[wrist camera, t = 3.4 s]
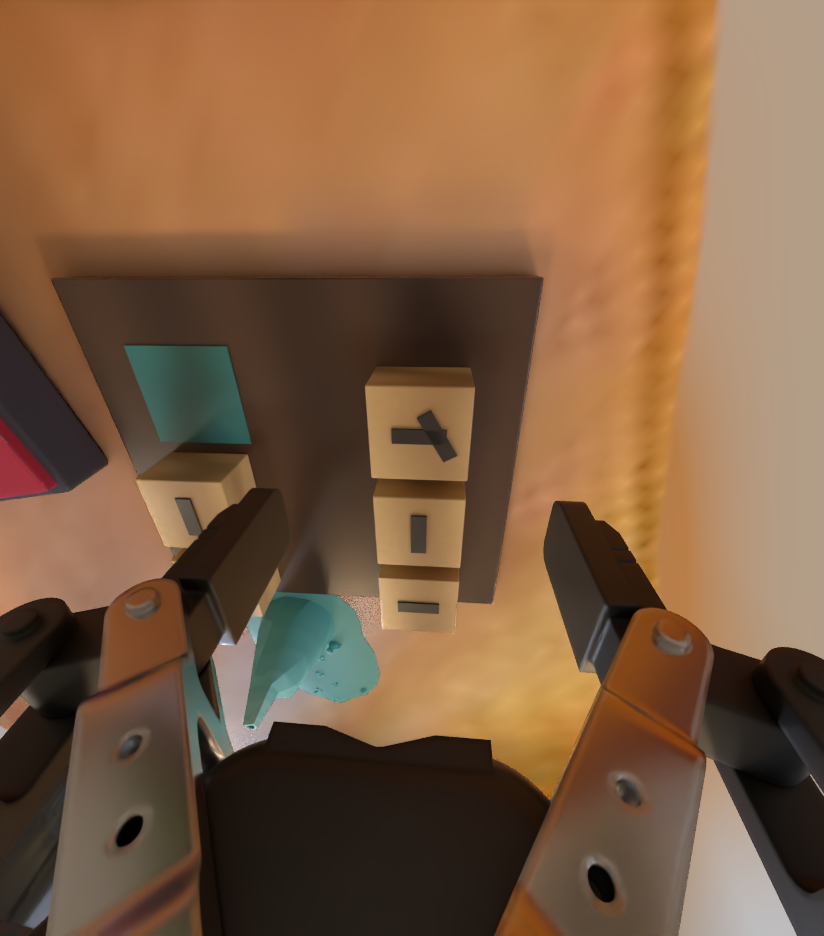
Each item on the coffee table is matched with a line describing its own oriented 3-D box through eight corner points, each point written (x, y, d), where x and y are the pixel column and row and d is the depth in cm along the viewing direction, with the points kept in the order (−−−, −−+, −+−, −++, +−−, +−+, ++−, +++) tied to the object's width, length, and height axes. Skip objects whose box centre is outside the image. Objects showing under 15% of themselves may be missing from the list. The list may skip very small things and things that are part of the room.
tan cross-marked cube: (380, 449, 20) (370, 479, 17) (376, 365, 18) (363, 385, 15) (464, 451, 20) (467, 483, 17) (470, 367, 17) (475, 387, 15)
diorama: (290, 708, 37) (252, 821, 30) (201, 565, 28) (112, 679, 20) (407, 706, 35) (397, 826, 28) (355, 552, 26) (319, 672, 18)
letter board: (195, 577, 28) (159, 624, 24) (68, 277, 18) (-26, 282, 14) (491, 593, 26) (499, 645, 23) (539, 276, 16) (565, 282, 13)
